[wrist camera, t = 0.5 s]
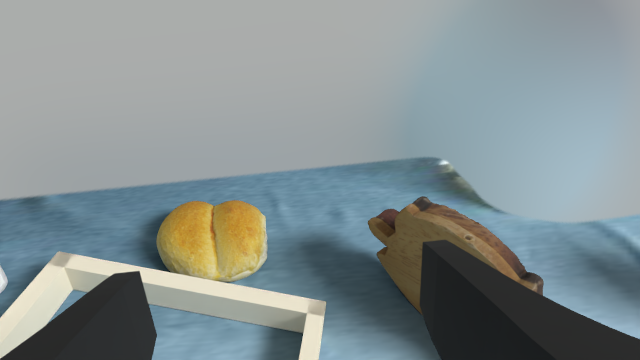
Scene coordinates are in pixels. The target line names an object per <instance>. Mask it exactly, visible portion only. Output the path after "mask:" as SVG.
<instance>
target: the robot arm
mask: <svg viewBox="0 0 640 360" xmlns="http://www.w3.org/2000/svg"><path fill="white" fill-rule="evenodd" d="M420 308H421V311H422V314H423V317H424V320H425V323H426V325H427V328H428V331H429V333H430V336H431V339H432V341H433V343H434V345H435V347H436V349H437V351H438V353H439V355H440V357H441V359H442V360H640V339H638V338H635V337H632V336H630V335H627V334H625V333H622V332H620V331H617V330H615V329H612V328H610V327H608V326H605V325H603V324H601V323H599V322H596V321H594V320H592V319H590V318H587V317H585V316H583V315H581V314H578V313H576V312H574V311H572V310H570V309H568V308H566V307H564V306H562V305H560V304H558V303H556V302H554V301H552V300H550V299H548V298H546V297H544V296H542V295H540V294H538V293H537V292H535V291H533V290H531V289H529V288H527V287H525V286H524V285H522V284H520V283H518V282H516V281H515V280H513V279H511V278H510V277H508V276H506V275H504V274H503V273H501V272H499V271H498V270H496V269H494V268H493V267H491V266H489V265H488V264H486V263H484V262H483V261H481V260H479V259H478V258H476V257H475V256H473V255H471V254H470V253H468V252H466V251H465V250H463V249H461V248H460V247H458V246H456V245H455V244H453V243H451V242H449V241H447V240H437V241H427V242H423V245H422V265H421V285H420ZM156 337H157V334H156V330H155V326H154V323H153V319H152V315H151V312H150V308H149V304H148V301H147V297H146V293H145V289H144V286H143V282H142V278H141V275H140V271H133V272H123V273H114V274H113V275H111V276H110V277H108V278H107V279H105V280H104V281H102V282H101V283H100V284H98V285H97V286H96V287H95V288H93V289H92V290H91V291H89V292H88V293H87V294H85V295H84V296H83V297H82V298H80V299H79V300H78V301H76V302H75V303H74V304H73V305H71V306H70V307H69V308H68V309H66V310H65V311H64V312H62V313H61V314H60V315H58V316H57V317H56V318H55V319H53V320H52V321H51V322H49V323H48V324H47V325H46V326H44V327H43V328H42V329H40V330H39V331H38V332H36V333H35V334H34V335H32V336H31V337H29V338H28V339H27V340H25V341H24V342H22V343H21V344H20V345H18V346H17V347H16V348H14V349H13V350H11V351H10V352H9V353H7V354H6V355H5V356H3V357H2V358H0V360H152V355H153V351H154V346H155V341H156Z"/></svg>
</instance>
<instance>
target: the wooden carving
mask: <svg viewBox="0 0 640 360" xmlns="http://www.w3.org/2000/svg"><path fill="white" fill-rule="evenodd" d="M368 225H369V228H370V230H371V232H372V233H373V235H374V236H375V237H376V238H378V239H379V240H380V241H381V242H382V243H383V244H385V245H386V246H387V247H384V248H383V249H382V250H380V251H379V252H377V256H378V258H379V260H380V262H381V264H382V265H383V267H384V268H385V270H386V271H387V272H388V274H389V275H390V277H391V278H392V279H393V281H394V282H395V284H396V285H397V286H398V288H399V289H400V290H401V292H402V293H403V294H404V296H405V297H406V298H407V299H408V300H409V302H410V303H411V304H412V305H413V306H414V307H415V308H416V309H417V310H418V311H419V312H420V313H421V314H422V311H421V308H420V285H421V265H422V245H423V242H427V241H437V240H447V241H449V242H451V243H453V244H455V245H456V246H458V247H460V248H461V249H463V250H465V251H466V252H468V253H470V254H471V255H473V256H475V257H476V258H478V259H479V260H481V261H483V262H484V263H486V264H488V265H489V266H491V267H493V268H494V269H496V270H498V271H499V272H501V273H503V274H504V275H506V276H508V277H510V278H511V279H513V280H515V281H516V282H518V283H520V284H522V285H524V286H525V287H527V288H529V289H531V290H533V291H535V292H537V293H538V294H540V295H542V296H543V284H544V283H543V279H542V278H541V277H540V276H538V275H537V274H534V273H530V272H527V271H526V270H525V267H524V266H523V265H522V264H521V263H520V261H519V259H518V257H517V256H516V255H515V254H514V253H513V252H512V251H511V250H510V249H509V248H508V247H507V246H506V245H504V244H503V243H502V241H501V240H500V239H499V238H497V237H496V236H495V235H494V234H492V233H491V232H490V231H489V230H488V229H487V228H485V227H484V226H482V225H481V224H479V223H478V222H475V221H474V220H472V219H469V218H468V217H466V216H465V215H463V214H460V213H459V212H457V211H456V210H454V209H450V208H448V207H447V206H444V205H438V204H434V203H432V202H430V200H429V199H428V198H427V197H423V196H422V197H420V198H418V199H417V200H416V201H414V202H413V203H412V204H409V205H408V206H406V207H405V208H404V209H402V210H401V211H400V212H398V211H397V210H395V209H388V210H385V211H383V212H382V213H381V214H379V215H378V216H377V217H374V218H371V219H370V220H369V221H368ZM422 315H423V314H422Z"/></svg>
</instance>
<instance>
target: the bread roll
mask: <svg viewBox="0 0 640 360" xmlns="http://www.w3.org/2000/svg"><path fill="white" fill-rule="evenodd" d="M156 243H157V248H158V251H159V255H160V257H161V259H162V261H163V263H164V265H165V266H166V267H167V269H168V270H169V271H170V272H172V273H176V274H181V275H187V276H192V277H197V278H203V279H208V280H213V281H219V282H234V281H237V280H240V279H243V278H246V277H248V276H250V275H251V274H253V273H255V272H256V271H257V270H258V269H259V268H260V267H261V266H262V264H263V263H264V262H265V260H266V259H267V235H266V217H265V216H264V215H262V213H261V212H260V211H259V210H258V209H257V208H256V207H254V206H252V205H250V204H248V203H245V202H243V201H236V200H233V201H227V202H224V203H221V204H219V205H216V206H213V205H211V204H209V203H206V202H201V201H192V202H188V203H185V204H182V205H180V206H178V207H177V208H175V209H174V210H173V211H172V212H171V213H170V214H169V215H168V216H167V217H166V218H165V220H164V221H163V223H162V224H161V226H160V229H159V231H158V235H157V242H156Z"/></svg>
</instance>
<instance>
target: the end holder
mask: <svg viewBox="0 0 640 360" xmlns="http://www.w3.org/2000/svg"><path fill="white" fill-rule="evenodd" d="M133 271H140V275H141V278H142V282H143V286H144V289H145V293H146V297H147V301H148V304H152V305H157V306H163V307H168V308H173V309H178V310H184V311H189V312H194V313H199V314H205V315H210V316H215V317H221V318H226V319H231V320H236V321H242V322H247V323H252V324H257V325H263V326H268V327H273V328H278V329H284V330H289V331H294V332H299V333H303V339H302V344H301V350H300V355H299V360H318V358H319V351H320V344H321V337H322V330H323V322H324V315H325V308H326V302H325V301H320V300H314V299H309V298H304V297H298V296H293V295H288V294H282V293H277V292H272V291H266V290H261V289H256V288H250V287H245V286H240V285H234V284H229V283H224V282H219V281H213V280H208V279H203V278H197V277H192V276H187V275H181V274H176V273H171V272H165V271H160V270H155V269H149V268H144V267H139V266H133V265H128V264H123V263H117V262H112V261H107V260H101V259H96V258H91V257H85V256H80V255H75V254H69V253H64V252H59V251H58V252H57V254H56V255H55V256H54V257H53V258H52V259H51V260H50V262H49V263H48V264H47V265H46V266H45V267H44V268H43V270H42V271H41V272H40V273H39V274H38V275H37V276H36V278H35V279H34V280H33V281H32V282H31V283H30V284H29V286H28V287H27V288H26V289H25V290H24V291H23V293H22V294H21V295H20V296H19V297H18V298H17V299H16V301H15V302H14V303H13V304H12V305H11V306H10V307H9V309H8V310H7V311H6V312H5V313H4V314H3V315H2V317H1V318H0V358H2V357H3V356H5V355H6V354H7V353H9V352H10V351H11V350H13V349H14V348H16V347H17V346H18V345H20V344H21V343H22V342H24V341H25V340H27V339H28V338H29V337H31V336H32V335H34V334H35V333H36V332H38V331H39V330H40V329H42V328H43V327H44V326H46V324H47V323H48V322H49V320H50V319H51V318H52V316H53V315H54V314H55V313H56V311H57V310H58V309H59V307H60V306H61V305H62V303H63V302H64V301H65V299H66V298H67V297H68V295H69V294H70V293H71V291H72V290H78V291H84V292H89V291H91V290H92V289H93V288H95V287H96V286H97V285H98V284H100V283H101V282H102V281H104V280H105V279H107V278H108V277H110V276H111V275H113V274H114V273H123V272H133Z"/></svg>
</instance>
